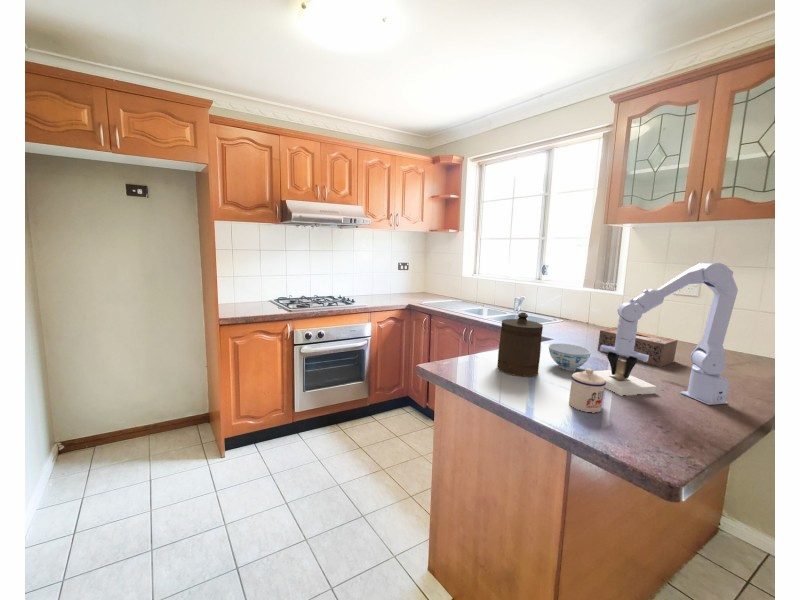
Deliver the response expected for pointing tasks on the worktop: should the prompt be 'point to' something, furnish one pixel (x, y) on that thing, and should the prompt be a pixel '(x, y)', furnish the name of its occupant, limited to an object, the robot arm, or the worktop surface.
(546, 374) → the worktop surface
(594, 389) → the teacup with lid
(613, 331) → the tissue box cover
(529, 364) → the wooden container
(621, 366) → the peg
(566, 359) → the chinaware
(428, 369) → the worktop surface
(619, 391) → the socket plate
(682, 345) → the worktop surface
